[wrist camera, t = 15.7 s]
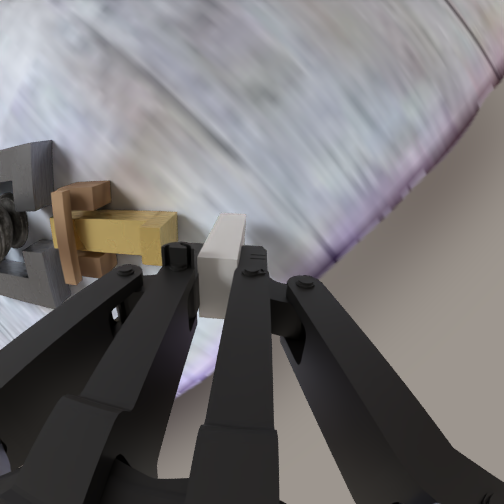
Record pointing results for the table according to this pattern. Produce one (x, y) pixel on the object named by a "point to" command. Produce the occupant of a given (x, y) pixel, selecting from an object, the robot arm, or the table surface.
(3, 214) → the grey stone chess piece
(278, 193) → the table surface
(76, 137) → the table surface
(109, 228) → the pin
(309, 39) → the table surface
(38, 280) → the socket collar
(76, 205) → the bracket
